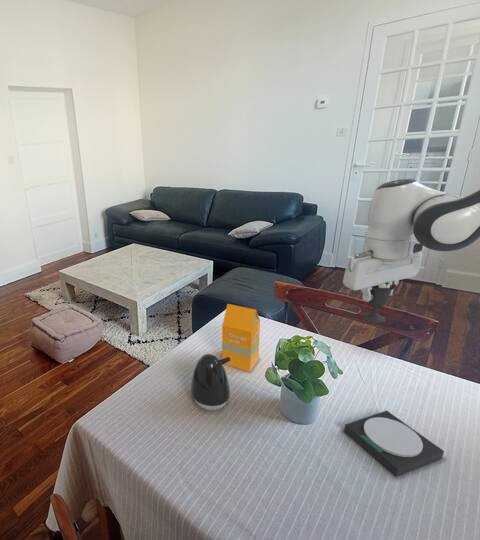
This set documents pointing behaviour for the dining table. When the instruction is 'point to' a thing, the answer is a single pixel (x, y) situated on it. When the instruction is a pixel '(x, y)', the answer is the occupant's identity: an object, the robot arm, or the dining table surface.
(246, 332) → the orange juice
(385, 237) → the robot arm
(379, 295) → the sundae
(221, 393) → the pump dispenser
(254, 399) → the dining table surface
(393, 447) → the scale
